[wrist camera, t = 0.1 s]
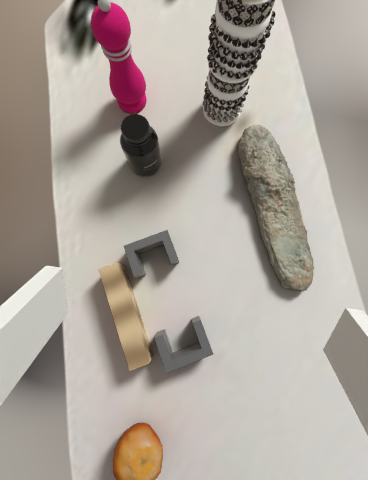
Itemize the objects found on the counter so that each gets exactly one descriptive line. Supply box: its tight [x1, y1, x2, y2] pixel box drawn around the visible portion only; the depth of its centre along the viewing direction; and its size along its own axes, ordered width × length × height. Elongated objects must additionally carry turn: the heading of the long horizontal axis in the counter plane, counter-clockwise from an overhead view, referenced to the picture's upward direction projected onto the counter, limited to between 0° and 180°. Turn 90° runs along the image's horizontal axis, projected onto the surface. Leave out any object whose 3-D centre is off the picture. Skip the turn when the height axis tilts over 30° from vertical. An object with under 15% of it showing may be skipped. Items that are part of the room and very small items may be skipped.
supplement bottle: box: [120, 114, 161, 176], centre depth 45 cm, size 7×7×12 cm
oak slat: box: [99, 263, 153, 371], centre depth 44 cm, size 18×4×5 cm, turn 20°
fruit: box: [113, 423, 163, 480], centre depth 39 cm, size 8×8×8 cm
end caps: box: [124, 230, 213, 373], centre depth 44 cm, size 23×8×4 cm, turn 21°
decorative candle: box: [203, 0, 275, 127], centre depth 41 cm, size 9×9×25 cm
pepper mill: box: [91, 0, 146, 113], centre depth 44 cm, size 7×7×20 cm
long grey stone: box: [238, 125, 314, 291], centre depth 48 cm, size 35×5×10 cm
